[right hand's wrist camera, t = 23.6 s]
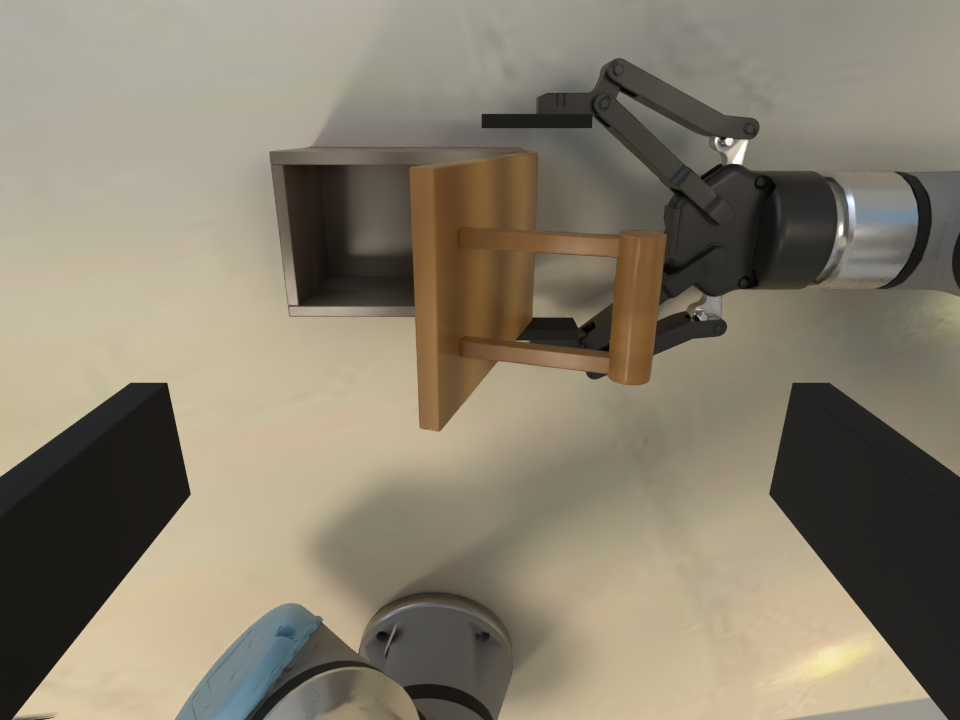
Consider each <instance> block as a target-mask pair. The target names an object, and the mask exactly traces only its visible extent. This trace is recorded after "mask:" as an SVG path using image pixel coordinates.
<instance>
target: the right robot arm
mask: <svg viewBox="0 0 960 720" xmlns="http://www.w3.org/2000/svg"><path fill="white" fill-rule="evenodd" d="M190 495H191V493H190V488H189V484H188V479H187V474H186V470H185V465H184V460H183V455H182V451H181V446H180V441H179V436H178V432H177V427H176V422H175V417H174V413H173V408H172V403H171V399H170V394H169V389H168V384H167V383H130V384H128V385H127V386H126V387H124V388H123V389H121V390H120V391H119V392H117V393H116V394H115V395H113V396H112V397H110V398H109V399H108V400H106V401H105V402H103V403H102V404H101V405H99V406H98V407H97V408H95V409H94V410H92V411H91V412H90V413H88V414H87V415H86V416H84V417H83V418H81V419H80V420H79V421H77V422H76V423H74V424H73V425H72V426H70V427H69V428H68V429H66V430H65V431H63V432H62V433H61V434H59V435H58V436H56V437H55V438H54V439H52V440H51V441H50V442H48V443H47V444H45V445H44V446H43V447H41V448H40V449H38V450H37V451H36V452H34V453H33V454H32V455H30V456H29V457H27V458H26V459H25V460H23V461H22V462H20V463H19V464H18V465H16V466H15V467H14V468H12V469H11V470H9V471H8V472H7V473H5V474H4V475H2V476H1V477H0V720H12V719H13V717H14V716H15V715H16V714H17V712H18V711H19V710H20V708H21V707H22V706H23V705H24V703H25V702H26V701H27V700H28V698H29V697H30V696H31V695H32V693H33V692H34V691H35V690H36V688H37V687H38V686H39V685H40V683H41V682H42V681H43V680H44V678H45V677H46V676H47V675H48V673H49V672H50V671H51V669H52V668H53V667H54V666H55V664H56V663H57V662H58V661H59V659H60V658H61V657H62V656H63V654H64V653H65V652H66V651H67V649H68V648H69V647H70V646H71V644H72V643H73V642H74V641H75V639H76V638H77V637H78V636H79V634H80V633H81V632H82V630H83V629H84V628H85V627H86V625H87V624H88V623H89V622H90V620H91V619H92V618H93V617H94V615H95V614H96V613H97V612H98V610H99V609H100V608H101V607H102V605H103V604H104V603H105V602H106V600H107V599H108V598H109V597H110V595H111V594H112V593H113V591H114V590H115V589H116V588H117V586H118V585H119V584H120V583H121V581H122V580H123V579H124V578H125V576H126V575H127V574H128V573H129V571H130V570H131V569H132V568H133V566H134V565H135V564H136V563H137V561H138V560H139V559H140V558H141V556H142V555H143V554H144V552H145V551H146V550H147V549H148V547H149V546H150V545H151V544H152V542H153V541H154V540H155V539H156V537H157V536H158V535H159V534H160V532H161V531H162V530H163V529H164V527H165V526H166V525H167V524H168V522H169V521H170V520H171V519H172V517H173V516H174V515H175V513H176V512H177V511H178V510H179V508H180V507H181V506H182V505H183V503H184V502H185V501H186V500H187V498H188V497H189V496H190ZM769 495H770V496H771V497H772V498H773V500H774V501H775V502H776V503H777V505H778V506H779V507H780V508H781V510H782V511H783V512H784V513H785V515H786V516H787V517H788V519H789V520H790V521H791V522H792V524H793V525H794V526H795V527H796V529H797V530H798V531H799V532H800V534H801V535H802V536H803V537H804V539H805V540H806V541H807V542H808V544H809V545H810V546H811V547H812V549H813V550H814V551H815V552H816V554H817V555H818V556H819V558H820V559H821V560H822V561H823V563H824V564H825V565H826V566H827V568H828V569H829V570H830V571H831V573H832V574H833V575H834V576H835V578H836V579H837V580H838V581H839V583H840V584H841V585H842V586H843V588H844V589H845V590H846V591H847V593H848V594H849V595H850V597H851V598H852V599H853V600H854V602H855V603H856V604H857V605H858V607H859V608H860V609H861V610H862V612H863V613H864V614H865V615H866V617H867V618H868V619H869V620H870V622H871V623H872V624H873V625H874V627H875V628H876V629H877V630H878V632H879V633H880V634H881V636H882V637H883V638H884V639H885V641H886V642H887V643H888V644H889V646H890V647H891V648H892V649H893V651H894V652H895V653H896V654H897V656H898V657H899V658H900V659H901V661H902V662H903V663H904V664H905V666H906V667H907V668H908V669H909V671H910V672H911V673H912V675H913V676H914V677H915V678H916V680H917V681H918V682H919V683H920V685H921V686H922V687H923V688H924V690H925V691H926V692H927V693H928V695H929V696H930V697H931V698H932V700H933V701H934V702H935V703H936V705H937V706H938V707H939V708H940V710H941V711H942V712H943V713H944V715H945V716H946V717H947V719H948V720H960V477H959V476H958V475H956V474H955V473H953V472H952V471H951V470H949V469H948V468H946V467H945V466H944V465H942V464H941V463H940V462H938V461H937V460H935V459H934V458H933V457H931V456H930V455H928V454H927V453H926V452H924V451H923V450H922V449H920V448H919V447H917V446H916V445H915V444H913V443H912V442H910V441H909V440H908V439H906V438H905V437H904V436H902V435H901V434H899V433H898V432H897V431H895V430H894V429H892V428H891V427H890V426H888V425H887V424H886V423H884V422H883V421H881V420H880V419H879V418H877V417H876V416H874V415H873V414H872V413H870V412H869V411H868V410H866V409H865V408H863V407H862V406H861V405H859V404H858V403H857V402H855V401H854V400H852V399H851V398H850V397H848V396H847V395H845V394H844V393H843V392H841V391H840V390H839V389H837V388H836V387H834V386H833V385H832V384H830V383H793V384H792V389H791V394H790V399H789V403H788V408H787V413H786V417H785V422H784V427H783V432H782V436H781V441H780V446H779V451H778V455H777V460H776V465H775V470H774V474H773V479H772V484H771V488H770V493H769Z"/></svg>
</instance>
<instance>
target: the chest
mask: <svg viewBox="0 0 960 720" xmlns="http://www.w3.org/2000/svg"><path fill="white" fill-rule="evenodd" d="M523 152H528V151H525V150H523V149H521V148H391V147H309V148H301V149H291V150H280V151H270V152H269V153H270V161H271V164H272V165H271V170H272V178H273V186H274V194H275V203H276V211H277V219H278V228H279V236H280V244H281V252H282V261H283V269H284V277H285V285H286V294H287V302H288V309H289V316H305V317H415V296H414V271H413V245H412V220H411V195H410V167H414V166H422V165H429V164H437V163H445V162H453V161H461V160H468V159H476V158H484V157H492V156H500V155H508V154H515V153H523Z"/></svg>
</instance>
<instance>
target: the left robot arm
mask: <svg viewBox="0 0 960 720" xmlns="http://www.w3.org/2000/svg"><path fill="white" fill-rule="evenodd" d="M619 91H620V92H621V93H623V94H625V95H627V96H629V97H631V98H633V99H634V100H636V101H638V102H640V103H642V104H644V105H645V106H647V107H649V108H651V109H653V110H655V111H656V112H658V113H660V114H662V115H664V116H666V117H667V118H669V119H671V120H673V121H675V122H677V123H678V124H680V125H682V126H684V127H686V128H688V129H689V130H691V131H693V132H695V133H698V134H700V135H704V136H708V137H710V140H709V144H710V147H711V149H712V150H714V151H716V152H718V153H719V154H720V155H721V157H722V163H721V164H719V165H717V166H715V167H714V168H712V169H711V170H709V171H708V172H706V173H705V174H704V175H702V176H701V177H699V176H698V175H697V174H696V173H695V172H694V171H692V170H691V169H690V168H688V167H687V166H685V165H684V164H683V163H682V162H681V161H680V160H679V159H678V158H677V157H676V156H675V155H674V154H673V153H671V152H670V151H669V150H668V149H667V148H666V147H665V146H664V145H663V144H662V143H661V142H660V141H659V140H658V139H657V138H656V137H655V136H654V135H653V134H652V133H651V132H650V131H649V130H647V129H646V128H645V127H644V126H643V125H642V124H641V123H640V122H639V121H638V120H637V119H636V118H635V117H634V116H633V115H632V114H631V113H630V112H629V111H628V110H627V109H626V108H624V107H623V106H622V105H621V104H620V103H619V102H618V101H617V100H616V97H617V95H618V92H619ZM593 117H594V118H596V119H597V120H598V121H599V122H600V123H601V124H602V125H603V126H604V127H605V128H606V129H607V130H608V131H609V132H611V133H612V134H613V135H614V136H615V137H616V138H617V139H618V140H619V141H620V142H621V143H622V144H623V145H624V146H625V147H627V148H628V149H629V150H630V151H631V152H632V153H633V154H634V155H635V156H636V157H637V158H638V159H639V160H640V161H641V162H643V163H644V164H645V165H646V166H647V167H648V168H649V169H650V170H651V171H652V172H653V173H654V174H655V175H656V176H658V177H659V179H660V180H661V182H662V183H663V184H665V185H666V186H667V187H668V188H669V189H670V190H671V191H672V192H673V193H674V194H675V195H674V196H673V197H672V198H671V200H670V202H669V204H668V205H665V211H664V222H665V232H664V233H665V234H666V235H667V239H666V248H665V256H664V261H665V262H664V265H663V273H662V282H661V290H660V299H659V305H660V304H662V303H663V302H665V301H666V300H667V299H669V298H674V297H676V296H678V295H679V294H681V293H682V292H684V291H685V290H686V289H688V288H689V287H690V286H692V285H693V286H695V287H696V288H697V289H698V290H700V291H701V292H703V295H702V297H701V299H700V300H699V301H697V302H695V303H692V304H690V305H689V306H688V308H687V311H684V312H679V313H676V314H673V315H670V316H668V317H666V318H663V319H661V320H659V321H657V325H656V333H655V342H654V350H653V355H655V354H658V353H660V352H662V351H665V350H667V349H669V348H672V347H674V346H676V345H679V344H681V343H684V342H686V341H688V340H691V339H694V338H705V337H716V336H721V335H722V334H724V333H725V331H726V329H727V324H726V322H725V321H724V320H722V319H721V308H722V295H724V294H726V293H728V292H730V291H733V290H738V289H802V288H804V287H807V288H809V289H816V290H826V289H926V290H937V291H943V292H948V293H951V294H954V295H956V296H959V297H960V171H955V172H913V173H904V172H893V171H828V172H823V173H821V174H818V173H816V172H813V171H751V170H748V169H747V168H745V167H744V166H742V165H743V161H744V157H745V153H746V149H747V145H748V141H749V139H752V138H754V137H755V136H756V135H757V134H758V131H759V123H758V121H757V120H756V119H753V118H746V117H737V116H727V115H723V114H721V113H719V112H718V111H716V110H714V109H712V108H710V107H709V106H707V105H705V104H703V103H701V102H700V101H698V100H696V99H694V98H692V97H691V96H689V95H687V94H685V93H683V92H682V91H680V90H678V89H676V88H674V87H673V86H671V85H669V84H667V83H665V82H664V81H662V80H660V79H658V78H656V77H655V76H653V75H651V74H649V73H647V72H646V71H644V70H642V69H640V68H638V67H637V66H635V65H633V64H631V63H629V62H628V61H626V60H624V59H621V58H618V59H614V60H612V61H611V62H609V63H607V64H605V65H604V66H603V67H602V68H601V71H600V76H599V79H598V81H597V84H596V86H595V88H594V89H593V90H592V91H591V92H590V93H547V94H544V95H542V96H540V97H538V98H537V111H536V114H482V128H592V118H593ZM612 313H613V303H612V304H611V305H609V306H608V307H607V308H605V309H604V310H602V311H601V312H600V313H598V314H597V315H596V316H594V317H593V318H592V319H590V320H589V321H588V322H586V323H585V324H584V325H582V326H581V327H579V328H578V327H577V325H576V323H575V321H574V319H573V318H532V321H531V322H530V323H529V324H528V325H527V327H526V328H525V329H524V330H523V332H522V333H521V334H520V335H519V336H518V338H517V339H516V340H529V343H535V344H544V345H553V346H562V347H571V348H580V349H589V350H598V351H607V352H609V347H610V342H609V341H610V335H611V324H612ZM585 372H586V371H585ZM586 374H587V376H588V377H589V378H591V379H598V378H601V377H603V376H606V375H607V374H603V373H595V372H586ZM322 621H323V619H322V618H321V617H320V616H314V615H313V614H312V613H311V612H309V611H308V610H307V609H306V608H304V607H303V606H301V605H299V604H295V603H288V604H284V605H281V606H279V607H277V608H275V609H273V610H271V611H270V612H268V613H267V614H265V615H264V616H263V617H261V618H260V619H259V620H258V621H257V622H255V623H254V624H253V625H252V626H250V627H249V628H248V629H247V630H246V631H245V632H244V633H243V634H242V635H241V636H240V637H239V638H238V639H237V640H236V641H235V642H234V643H233V644H232V645H231V646H230V647H229V648H228V649H227V650H226V652H225V653H224V654H223V655H222V656H221V657H220V658H219V659H218V661H217V662H216V663H215V664H214V665H213V666H212V668H211V669H210V670H209V671H208V673H207V674H206V675H205V676H204V678H203V679H202V680H201V682H200V683H199V684H198V686H197V687H196V688H195V690H194V691H193V692H192V694H191V695H190V697H189V698H188V700H187V701H186V703H185V704H184V706H183V707H182V709H181V711H180V712H179V714H178V715H177V717H176V719H175V720H497V719H498V716H499V713H500V710H501V707H502V704H503V700H504V697H505V694H506V691H507V688H508V685H509V681H510V678H511V674H512V649H511V642H510V638H509V635H508V633H507V631H506V629H505V627H504V626H503V624H502V623H501V622H500V620H499V619H498V618H497V617H496V616H495V615H494V614H493V613H492V612H490V611H489V610H488V609H486V608H485V607H483V606H482V605H480V604H478V603H476V602H474V601H472V600H469V599H466V598H463V597H460V596H456V595H451V594H443V593H425V594H418V595H413V596H409V597H405V598H402V599H400V600H397V601H395V602H393V603H391V604H389V605H388V606H386V607H384V608H383V609H382V610H380V611H379V612H378V613H377V614H376V615H375V616H374V617H373V618H372V619H371V621H370V622H369V623H368V625H367V627H366V629H365V631H364V633H363V636H362V640H361V645H360V649H359V653H356V652H355V651H354V650H352V649H351V648H350V647H349V646H348V645H347V644H345V643H344V642H343V641H342V640H341V639H340V638H339V637H337V636H336V635H335V634H334V633H333V632H332V631H331V630H330V629H329V628H328V627H326V626H325V625H324V624H323V623H322Z"/></svg>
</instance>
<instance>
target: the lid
mask: <svg viewBox="0 0 960 720" xmlns="http://www.w3.org/2000/svg"><path fill="white" fill-rule="evenodd" d="M537 172H538V153H533V152H523V153H515V154H508V155H500V156H492V157H484V158H476V159H468V160H461V161H453V162H445V163H437V164H429V165H422V166H414V167H410V195H411V220H412V245H413V271H414V296H415V321H416V347H417V372H418V397H419V422H420V428H421V429H427V430H433V431H441V430H442V428H443V427H444V426H445V425H446V424H447V422H448V421H449V420H450V419H451V418H452V416H453V415H454V414H455V413H456V411H457V410H458V409H459V408H460V407H461V405H462V404H463V403H464V402H465V401H466V399H467V398H468V397H469V396H470V395H471V393H472V392H473V391H474V390H475V388H476V387H477V386H478V385H479V384H480V382H481V381H482V380H483V379H484V378H485V376H486V375H487V374H488V373H489V372H490V370H491V369H492V368H493V367H494V365H495V364H496V363H497V362H498V361H504V362H512V363H520V364H529V365H537V366H545V367H553V368H562V369H570V370H578V371H586V372H595V373H603V374H607V376H608V378H609V379H610V380H612V381H614V382H617V383H620V384H625V385H641V384H645V383H647V382H649V380H650V376H651V368H652V359H653V350H654V342H655V333H656V325H657V316H658V308H659V299H660V290H661V282H662V273H663V265H664V256H665V248H666V239H667V235H666V234H665V233H662V232H657V231H648V230H628V231H623V232H620V234H619V235H606V234H587V233H568V232H549V231H535V227H536V200H537ZM535 252H538V253H554V254H569V255H585V256H601V257H616V258H617V267H616V278H615V290H614V301H613V313H612V324H611V335H610V347H609V352H607V351H598V350H589V349H580V348H571V347H562V346H553V345H544V344H535V343H525V342H516V341H515V340H516V339H517V338H518V336H519V335H520V334H521V333H522V332H523V330H524V329H525V328H526V327H527V325H528V324H529V323H530V322H531V321H532V311H533V283H534V255H535Z"/></svg>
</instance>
